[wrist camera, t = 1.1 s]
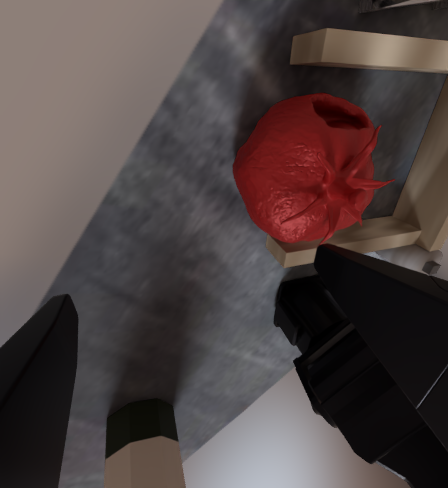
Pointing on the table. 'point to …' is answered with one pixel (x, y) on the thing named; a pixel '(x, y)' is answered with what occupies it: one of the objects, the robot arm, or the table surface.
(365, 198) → the pomegranate
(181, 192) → the table surface
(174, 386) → the table surface
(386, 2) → the crank handle
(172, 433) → the wine bottle
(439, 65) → the frame
